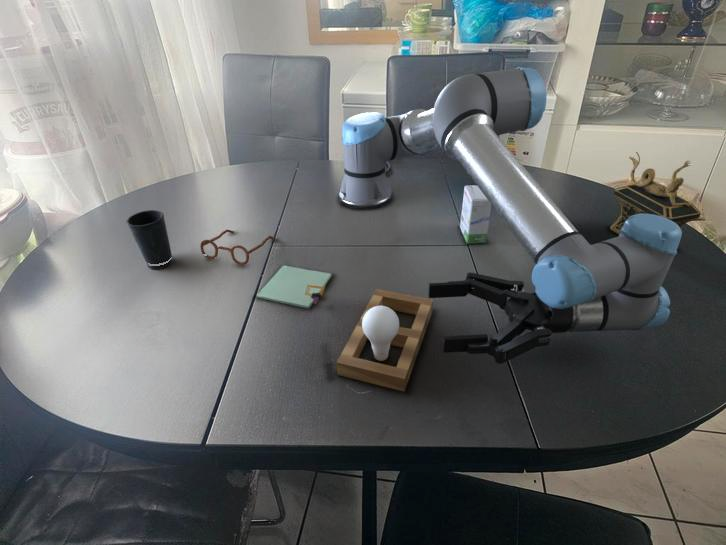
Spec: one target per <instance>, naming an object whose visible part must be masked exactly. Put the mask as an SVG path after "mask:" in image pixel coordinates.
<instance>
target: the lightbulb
mask: <svg viewBox="0 0 726 545" xmlns="http://www.w3.org/2000/svg"><path fill="white" fill-rule="evenodd" d="M399 327H400V319H399V316H398V315H397V313H396V311H395V310H392V309H390V308H389V307H386V306H375V307H373V308H371V309H369V310H368V311H367V312H366V314H365V315H364V317H363V320H362V329H363V332H364V334H365V335H366V336H367V338H368V339H369V340H368V341H369V342H370V344H371V349H372V353H373V358H374V359H375V360H377V361H379V362H384V361H385V360H387V359H388V358H389V351H390V349H391V345H390V343H391V341H392V339H393V338H394V337H395V336H396V334H397V333H398V329H399Z"/></svg>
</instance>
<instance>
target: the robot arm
mask: <svg viewBox="0 0 726 545" xmlns="http://www.w3.org/2000/svg"><path fill="white" fill-rule="evenodd" d="M547 99H548V98H547V88H546V85H545V81H544V79H543V77H542V75H540V74H539V72H538V71H537V70H536V69H535V68H532V67H521V66H518V67H516V68H509V69H501V70H494V71H487V72H486V71H485V72H479V73H471V74H464V75H462V76H459V77H457V78H455V79H453V80H452V81H450V82H449V83H448V84H447V85H445V87H444V88H442V90H441V91H440V93H439V94H438V96H437V98H436V101H435V102H434V107H433V108H431V109H429V110H427V109H424V108H417V109H413V110H411V111H408V112H406V113H404V114H399V115H393V116H386V117H385V115H384V114H383V113H380V112H363V113H359V114H356V115H353V116H351V117H349V118H347V119H346V120H345V121H344V123H343V124H342V134H341V135H342V136H341V144H342V153H343V154H342V157H343V172H344V174H343V178H342V182H341V185H340V189H339V192H338V196H339V197H338V198H339V201H340V203H341V204H342V205H343V206H345V207H348V208H351V209H355V210H372V209H373V210H374V209H379V208H382V207H383V206H386V205H388V204H389V203H390V202H391V200H392V190H391V189H392V188H391V186H390V182H389V180H388V177H387V174H389V172H391V170H392V166H391V163H390V161H395V160H400V159H405V158H411V157H416V156H424V155H427V154H431V153H432V152H434V151H435V150H436V149H437V147H438V145H439V146H440V148H441V150H443V152H444V153H445V155H446V156H447V158H450V159H452V160H456V161H458V162H459V163H460V165H461V167H463V169H464V170H465V171H466V173H467V174H468V175H469V177H470V179H472V181H473V182H474V183H475V186H478V187H479V189H480V190H481V191H482V193H483V194H484V195H485V197H486V198H487V199H488V201H489V202H490V203H491V207H492V208H494V210H495V211H496V213H497V214H498V215H499V217H500V218H501V219H502V221H503V223H504V224H505V225H506V226H507V227H508V229H509V230H510V232H511V233H512V234H513V235H514V236H515V238H516V239H517V240H518V242H519V243H520V245H521V246H522V247H523V249H524V250H525V252H527V254H528V256H529V257H530V259H532V260H533V262H534V264H535V265H534V267H533V269H532V273H531V283H532V284H533V286H534V288H535V289H534V292H527V291H525V288H524V287H525V282H524V281H523V280H509V279H504V278H500V277H494V276H490V275H485V274H481V273H475V272H467V273H466V278H465V279H464V280H453V281H452V280H450V281H447V282H430V283H428V293H427V294H428V295H427V296H428V299H441V298H443V299H444V298H462V297H463V298H464V297H465V298H466V297H467V296H468V295H471V296H473V297H476V298H478V299H481V300H483V301H486V302H489V303H491V304H493V305H497V306H498V307H499V309H501V310H503V311H504V312H505V314H506V315H507V317H508V321H509V323H508V324H506V325H505V326H504V327H502V329H500V330H499V331H498V332H496V333H495V334H494V335H492V334H491V335H489V336H488V333H485V334H484V333H482V334H481V333H480V334H465V335H464V334H461V335H443V340H442V349H441V350H442V353H443V354H447V353H448V354H450V353H467V354H468V355H481V354H483V355H484V354H488V355H489V356H492V357H493V358H494V361H495V363H496V364H498V365H502V364H505V363H507V362H508V361H511V360H513V359H515V358H517V357H519V356H521V355H523V354H524V353H528V352H529V351H531V350H533V349H535V348H539V347H545V346H549V344H550V342H551V338H552V334H564V333H567V332H569V333H579V332H581V333H582V332H599V331H600V332H601V331H602V332H603V331H604V332H605V331H639V330H640V331H641V330H644V329H645V330H646V329H651V328H652V329H653V328H657V327H660V326H661V325H663V324H665V323H666V322H667V320H668V318H669V317H670V314H671V310H670V309H669V306H671V299H670V296H669V293H668V291H667V290H666V289H665V287H663V286H662V285H663V283H664V281H665V279H666V276H667V274H668V272H669V270H670V267H671V265H672V263H673V261H674V258H675V256H676V255H677V254H678V248H679V245H680V242H681V239H682V235H683V232H682V229H681V227H679V226H678V225H677V224H676V223H675V222H673V221H671V220H669V219H667V218H665V217H662V216H658V215H653V214H636V215H632V216H630V217H629V218H628V219H627V220H626V221H625V223H624V225H623V227H622V228H621V229H620V232H621V233H620V235H619V234H618V236H616V237H612V238H609V239H606V240H602V241H599V242H595V243H593V244H590V243H589V242H588V241H587V240H586V238H585V237H584V236H583V235H582V234H581V232H579V230H578V229H577V228H576V227H575V226H574V224H572V222H571V220H569V218H568V217H567V216H566V215H565V214H564V213H563V212H562V210H561V209H560V208H559V207H558V205H557V204H556V202H554V201H553V199H552V198H551V197H550V196H549V195H548V194H547V193H546V192H545V190H544V189H543V187H542V186H541V185H540V184H539V183H538V182H537V181H536V179H535V178H534V177H533V176H532V175H531V173H530V172H529V171H528V170H527V169H526V168H525V166H524V165H523V163H521V161H520V160H519V159H518V158H517V157H516V156H515V154H514V153H513V152H512V151H511V150H510V149H509V147H508V146H507V145H506V143H504V141H503V140H502V139H501V138H500V136H501V135H505V134H511V133H515V132H525V131H527V130H531V129H532V128H534V127H536V126H537V125H538V124H539V123H540V122H541V120H542V118H543V115H544V113H545V112H546V107H547ZM386 166H387V170H386ZM527 330H528V332H527V333H524V332H525V331H527ZM523 333H524V334H523Z"/></svg>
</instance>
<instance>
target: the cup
mask: <svg viewBox="0 0 726 545" xmlns="http://www.w3.org/2000/svg"><path fill="white" fill-rule="evenodd" d="M126 225H127V227H128V229H129V231H130V233H131V235H132V237H133V239H134V241H135V243H136V245H137V248H138V249H139V251H140V253H141V255H142V257H143V259H144V262H145V263H146V262H147V263H150V264H159V263H163V262H166V261H168V260H169V259H170V258H171V257H172V259H171V260H170V261H169V262H168V263H166V264H164V265H160V266H149V265H147V267H148V268H149V269H150V270H155V271H156V270H157V271H158V270H164V269H166V268H168V267H170V266H171V265H172V264H173V262H174V259H173V254H172V250H171V244H170V240H169V234H168V230H167V229H168V228H167V225H166V220H165V215H164V213H163V211H160V210H155V209H148V210H142V211H139V212H136V213H134V214H132V215H130V216H129V217H128V218H127V219H126ZM147 263H146V264H147Z"/></svg>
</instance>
